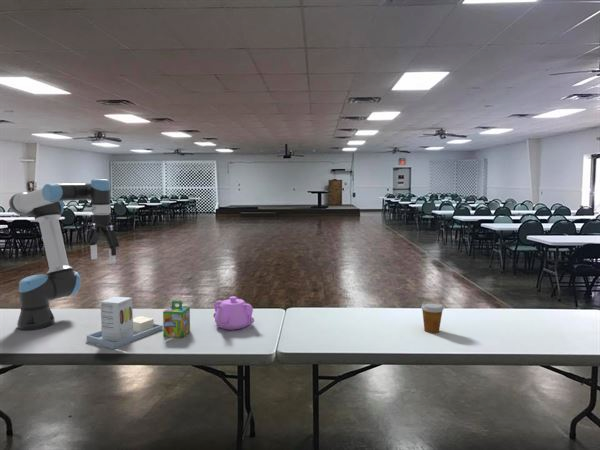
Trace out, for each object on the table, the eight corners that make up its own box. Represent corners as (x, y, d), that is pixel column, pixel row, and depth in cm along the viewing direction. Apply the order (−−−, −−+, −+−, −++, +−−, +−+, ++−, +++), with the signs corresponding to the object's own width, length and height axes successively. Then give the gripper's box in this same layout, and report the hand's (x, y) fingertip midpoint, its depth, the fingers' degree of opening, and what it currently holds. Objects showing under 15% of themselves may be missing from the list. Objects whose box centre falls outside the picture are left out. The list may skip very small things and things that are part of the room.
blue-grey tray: (86, 341, 181) (86, 335, 181) (136, 324, 203) (136, 318, 203) (113, 349, 172) (113, 343, 172) (162, 330, 194) (162, 325, 193)
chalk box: (163, 337, 185) (161, 304, 184) (171, 330, 194) (170, 298, 193) (183, 338, 184) (182, 304, 183) (190, 330, 194) (189, 299, 192)
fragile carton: (128, 329, 194) (127, 320, 193) (140, 325, 200) (140, 315, 199) (141, 333, 189) (140, 323, 189) (153, 328, 195) (153, 318, 195)
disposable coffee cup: (444, 329, 193) (444, 303, 192) (441, 335, 185) (442, 309, 184) (422, 326, 197) (423, 300, 196) (419, 332, 189) (419, 306, 188)
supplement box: (119, 342, 178) (117, 303, 176) (101, 340, 181) (99, 301, 179) (134, 334, 187) (132, 297, 186) (116, 332, 190) (114, 295, 188)
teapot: (197, 331, 192) (196, 302, 191) (223, 317, 212) (222, 290, 211) (239, 338, 184) (239, 307, 182) (262, 322, 204) (262, 294, 203)
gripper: (77, 212, 193) (79, 258, 195) (111, 216, 180) (113, 265, 182) (92, 211, 199) (94, 256, 201) (126, 215, 186) (128, 262, 189)
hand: (103, 260), depth 192 cm, fingers open, 13 cm apart
